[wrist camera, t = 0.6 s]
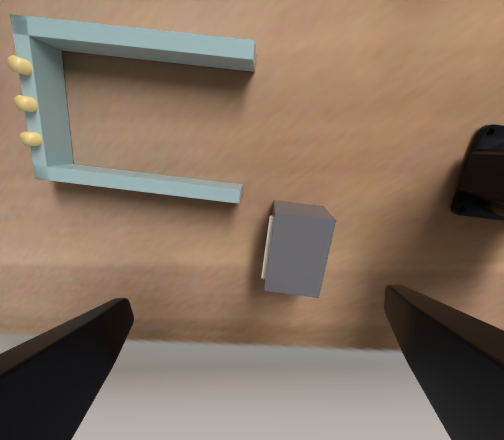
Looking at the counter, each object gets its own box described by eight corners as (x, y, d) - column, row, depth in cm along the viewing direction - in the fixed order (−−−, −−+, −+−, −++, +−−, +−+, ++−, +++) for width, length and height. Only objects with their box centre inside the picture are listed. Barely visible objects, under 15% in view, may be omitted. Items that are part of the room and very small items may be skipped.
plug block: (322, 206, 20) (336, 220, 16) (309, 271, 21) (318, 298, 18) (270, 199, 20) (271, 212, 16) (261, 264, 22) (260, 290, 18)
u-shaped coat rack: (256, 55, 17) (254, 35, 14) (242, 196, 20) (237, 205, 17) (45, 32, 17) (-3, 7, 14) (62, 174, 20) (26, 180, 17)
